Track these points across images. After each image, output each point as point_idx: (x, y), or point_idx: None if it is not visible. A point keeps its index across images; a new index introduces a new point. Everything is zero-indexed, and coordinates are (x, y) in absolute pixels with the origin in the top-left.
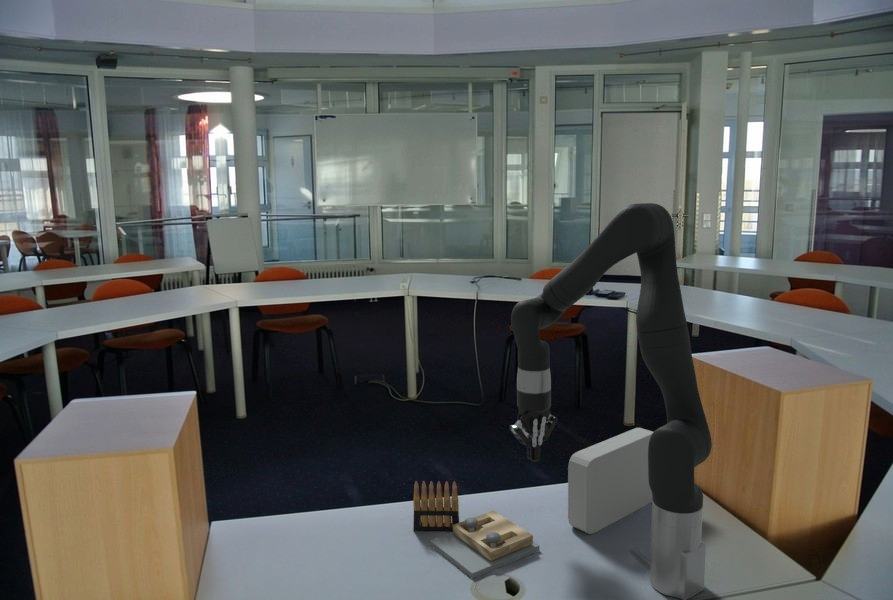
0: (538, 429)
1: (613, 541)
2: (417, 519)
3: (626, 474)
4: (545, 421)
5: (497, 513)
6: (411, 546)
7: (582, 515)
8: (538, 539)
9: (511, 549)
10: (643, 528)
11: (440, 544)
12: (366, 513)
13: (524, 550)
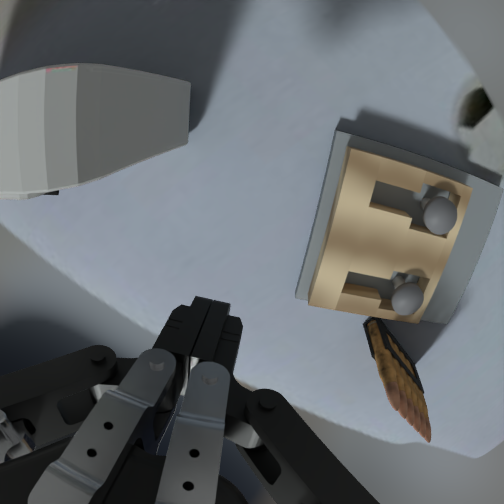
0: (132, 452)
1: (168, 33)
2: (418, 377)
3: None
4: (47, 475)
5: (314, 289)
6: (457, 334)
7: (179, 91)
8: (291, 163)
9: (415, 166)
10: (82, 38)
11: (452, 301)
12: (397, 428)
13: (380, 147)
